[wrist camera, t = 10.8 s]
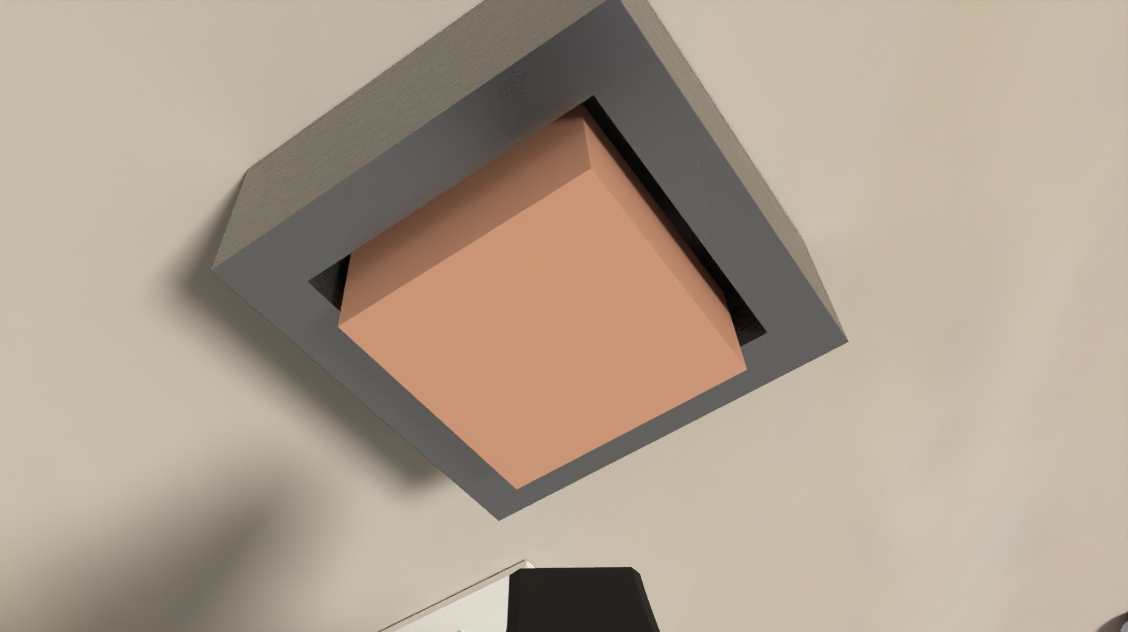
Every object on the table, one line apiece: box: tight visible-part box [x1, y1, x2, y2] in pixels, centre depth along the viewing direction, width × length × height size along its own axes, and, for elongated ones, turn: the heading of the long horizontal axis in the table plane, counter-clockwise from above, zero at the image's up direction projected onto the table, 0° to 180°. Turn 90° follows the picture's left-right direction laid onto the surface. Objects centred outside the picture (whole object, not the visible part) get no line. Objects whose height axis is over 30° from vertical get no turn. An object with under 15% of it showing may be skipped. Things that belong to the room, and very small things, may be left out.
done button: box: [338, 103, 747, 489], centre depth 16 cm, size 4×4×2 cm
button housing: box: [211, 0, 848, 521], centre depth 17 cm, size 7×7×3 cm
